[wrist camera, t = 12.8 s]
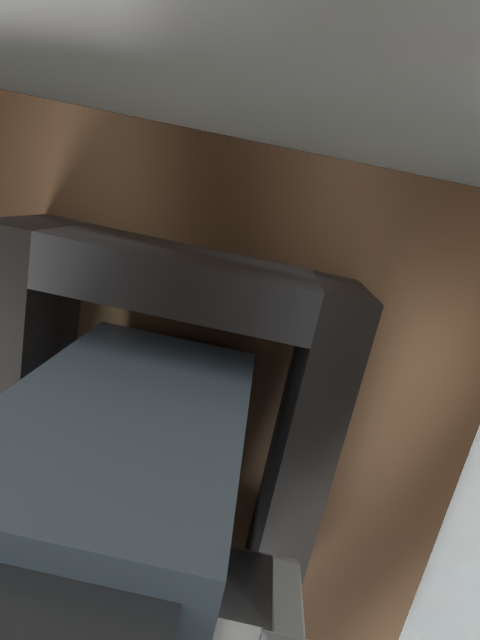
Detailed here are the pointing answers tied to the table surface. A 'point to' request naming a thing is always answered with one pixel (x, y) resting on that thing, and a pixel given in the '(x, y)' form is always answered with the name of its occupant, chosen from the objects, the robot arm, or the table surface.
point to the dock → (268, 323)
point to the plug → (120, 488)
